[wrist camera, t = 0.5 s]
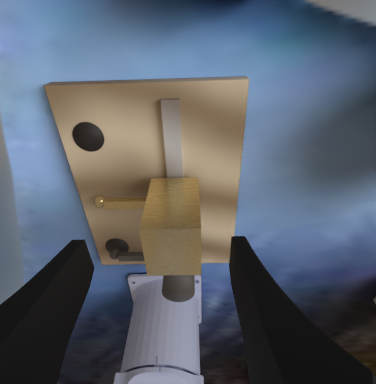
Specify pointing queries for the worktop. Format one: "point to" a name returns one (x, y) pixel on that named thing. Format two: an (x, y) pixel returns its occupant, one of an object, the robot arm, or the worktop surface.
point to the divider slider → (167, 225)
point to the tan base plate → (154, 156)
